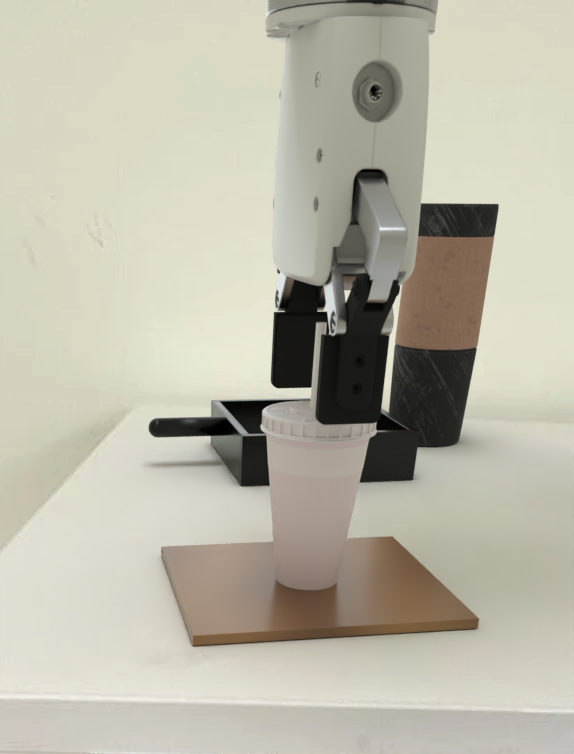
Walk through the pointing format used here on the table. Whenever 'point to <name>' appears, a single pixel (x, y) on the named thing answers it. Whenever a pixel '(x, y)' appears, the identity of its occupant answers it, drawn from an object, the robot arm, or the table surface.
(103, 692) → the table surface
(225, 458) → the pan
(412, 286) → the travel mug
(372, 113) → the robot arm
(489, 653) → the table surface
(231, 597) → the brown mat
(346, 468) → the smoothie
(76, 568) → the table surface
